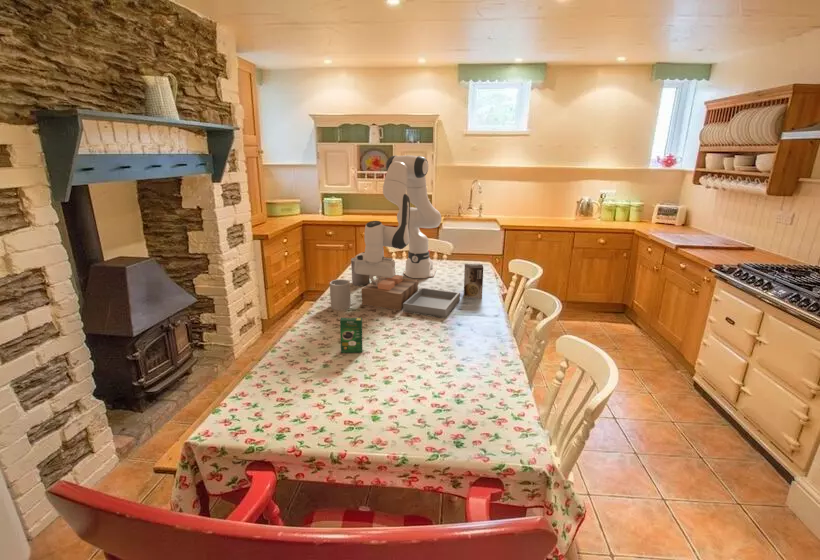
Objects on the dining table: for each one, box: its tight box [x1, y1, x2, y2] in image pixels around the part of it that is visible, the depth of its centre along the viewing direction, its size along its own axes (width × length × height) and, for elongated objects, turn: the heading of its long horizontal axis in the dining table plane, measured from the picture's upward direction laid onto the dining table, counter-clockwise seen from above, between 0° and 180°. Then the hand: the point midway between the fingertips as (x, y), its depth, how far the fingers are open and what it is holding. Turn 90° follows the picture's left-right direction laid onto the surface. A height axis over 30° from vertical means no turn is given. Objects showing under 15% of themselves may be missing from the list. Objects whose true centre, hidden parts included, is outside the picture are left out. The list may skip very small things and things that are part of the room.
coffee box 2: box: [463, 263, 484, 300], centre depth 210 cm, size 9×6×16 cm
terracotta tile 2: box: [387, 274, 404, 284], centre depth 209 cm, size 6×6×2 cm
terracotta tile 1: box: [378, 280, 395, 290], centre depth 200 cm, size 6×6×2 cm
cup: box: [329, 278, 352, 311], centre depth 197 cm, size 9×9×12 cm
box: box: [402, 287, 461, 319], centre depth 199 cm, size 24×20×4 cm
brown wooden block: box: [361, 277, 419, 311], centre depth 206 cm, size 22×20×8 cm
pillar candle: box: [350, 257, 371, 287], centre depth 230 cm, size 10×10×15 cm
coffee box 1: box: [339, 317, 363, 354], centre depth 154 cm, size 8×3×13 cm, turn 93°
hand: (375, 284), depth 203 cm, fingers closed
